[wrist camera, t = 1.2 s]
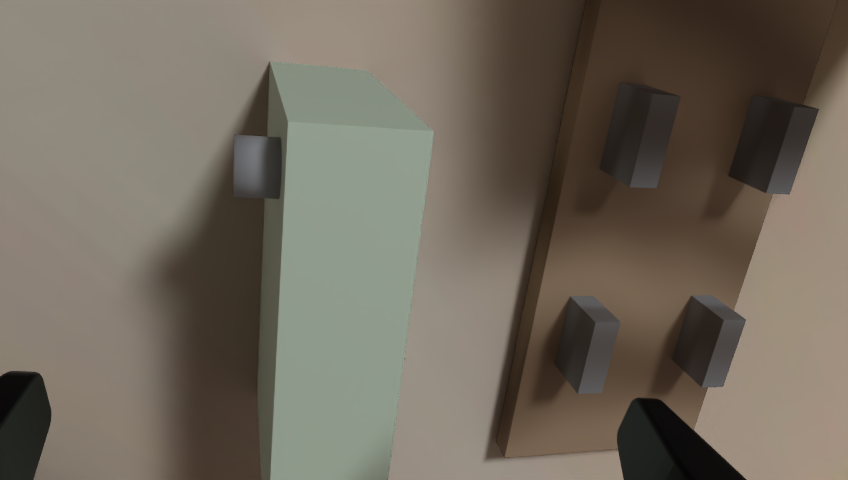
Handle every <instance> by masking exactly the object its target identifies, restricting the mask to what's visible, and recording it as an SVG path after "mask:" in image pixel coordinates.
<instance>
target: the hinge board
mask: <svg viewBox="0 0 848 480" xmlns="http://www.w3.org/2000/svg"><path fill="white" fill-rule="evenodd" d="M837 2H838V0H586V3H585V8H584V13H583V18H582V23H581V28H580V33H579V38H578V43H577V48H576V52H575V57H574V62H573V67H572V72H571V77H570V82H569V87H568V92H567V97H566V102H565V107H564V111H563V116H562V121H561V126H560V131H559V136H558V141H557V146H556V151H555V156H554V161H553V166H552V170H551V175H550V180H549V185H548V190H547V195H546V200H545V205H544V210H543V215H542V220H541V225H540V230H539V234H538V239H537V244H536V249H535V254H534V259H533V264H532V269H531V274H530V279H529V284H528V289H527V293H526V298H525V303H524V308H523V313H522V318H521V323H520V328H519V333H518V338H517V343H516V348H515V352H514V357H513V362H512V367H511V372H510V377H509V382H508V387H507V392H506V397H505V402H504V407H503V411H502V416H501V421H500V426H499V431H498V436H497V441H496V442H497V444H498V446H499V448H500V450H501V452H502V454H503V456H504V458H510V457H522V456H535V455H547V454H560V453H572V452H585V451H597V450H610V449H618V446H617V432H618V429H619V426H620V424H621V422H622V420H623V418H624V416H625V413H626V411H627V409H628V407H629V405H630V403H631V401H632V400H633V399H635V398H638V397H641V398H657V399H660V400H661V401H663V402H664V403H665V404H666V405H667V406H668V407H669V408H670V409H672V410H673V411H674V412H675V413H676V414H677V415H678V416H679V417H680V418H681V419H682V420H683V421H684V422H685V423H686V424H688V425H689V426H690V427H691V428H692V429H693V430H694V427H695V424H696V422H697V419H698V416H699V413H700V410H701V407H702V404H703V401H704V398H705V395H706V392H707V389H708V387H723V385H724V382H725V379H726V376H727V374H728V371H729V368H730V365H731V362H732V359H733V356H734V353H735V350H736V348H737V345H738V342H739V339H740V336H741V333H742V330H743V327H744V324H745V321H746V319H744V318H743V317H742V316H740V315H739V314H737V313H736V312H735V311H734V308H735V305H736V302H737V299H738V296H739V293H740V290H741V288H742V285H743V282H744V279H745V276H746V273H747V270H748V267H749V264H750V261H751V258H752V255H753V252H754V249H755V246H756V243H757V240H758V237H759V234H760V231H761V228H762V225H763V222H764V219H765V216H766V213H767V210H768V207H769V204H770V201H771V198H772V195H773V194H790V191H791V188H792V185H793V183H794V180H795V177H796V174H797V171H798V168H799V165H800V162H801V159H802V157H803V154H804V151H805V148H806V145H807V142H808V139H809V136H810V133H811V130H812V128H813V125H814V122H815V119H816V116H817V113H818V110H819V109H816V108H813V107H809V106H805V105H803V103H804V100H805V97H806V94H807V91H808V88H809V85H810V82H811V79H812V76H813V73H814V70H815V67H816V64H817V61H818V58H819V55H820V52H821V49H822V46H823V43H824V40H825V37H826V34H827V31H828V28H829V25H830V22H831V19H832V17H833V14H834V11H835V8H836V5H837Z"/></svg>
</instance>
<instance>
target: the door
mask: <svg viewBox="0 0 848 480" xmlns="http://www.w3.org/2000/svg"><path fill="white" fill-rule="evenodd" d="M433 137H434V131H433V130H432V129H431V128H430V127H429V126H428V125H427V124H426V123H425V122H423V121H422V120H421V119H420V118H419V117H418V116H417V115H416V114H415V113H414V112H413V111H411V110H410V109H409V108H408V107H407V106H406V105H405V104H404V103H403V102H402V101H401V100H399V99H398V98H397V97H396V96H395V95H394V94H393V93H392V92H391V91H390V90H389V89H387V88H386V87H385V86H384V85H383V84H382V83H381V82H380V81H379V80H378V79H377V78H375V77H374V76H373V75H372V74H371V73H370V72H369V71H368V70H360V69H349V68H338V67H327V66H316V65H305V64H294V63H283V62H272V61H270V71H269V97H268V123H267V137H266V136H250V135H234V184H233V197H239V198H265V202H264V228H263V254H262V280H261V306H260V332H259V358H258V385H257V401H258V422H259V443H260V464H261V480H388V476H389V468H390V461H391V453H392V446H393V438H394V430H395V423H396V415H397V408H398V400H399V393H400V385H401V378H402V370H403V363H404V355H405V348H406V340H407V332H408V325H409V317H410V310H411V302H412V295H413V287H414V280H415V272H416V265H417V257H418V250H419V242H420V235H421V227H422V219H423V212H424V204H425V197H426V189H427V182H428V174H429V167H430V159H431V152H432V144H433Z"/></svg>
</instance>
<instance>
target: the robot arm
mask: <svg viewBox="0 0 848 480" xmlns="http://www.w3.org/2000/svg"><path fill="white" fill-rule="evenodd" d="M50 422H51V407H50V404H49V400H48V396H47V392H46V388H45V385H44V381H43V378H42V376H41V375H40V374H39V373H37V372H26V371H10V372H7V373H5V374H3V375H2V376H0V480H33V479H34V476H35V472H36V469H37V466H38V463H39V459H40V456H41V453H42V450H43V446H44V443H45V440H46V437H47V433H48V430H49V427H50ZM617 446H618V452H619V457H620V462H621V468H622V473H623V478H624V480H746V479H745V478H744V477H743V476H742V475H741V474H740V473H739V472H738V471H737V470H736V469H735V468H734V467H732V466H731V465H730V464H729V463H728V462H727V461H726V460H725V459H724V458H723V457H722V456H721V455H720V454H719V453H718V452H716V451H715V450H714V449H713V448H712V447H711V446H710V445H709V444H708V443H707V442H706V441H705V440H704V439H703V438H701V437H700V436H699V435H698V434H697V433H696V432H695V431H694V430H693V429H692V428H691V427H690V426H689V425H688V424H686V423H685V422H684V421H683V420H682V419H681V418H680V417H679V416H678V415H677V414H676V413H675V412H674V411H673V410H672V409H670V408H669V407H668V406H667V405H666V404H665V403H664V402H663V401H661V400H660V399H657V398H641V397H638V398H635V399H633V400H632V401H631V403H630V405H629V407H628V409H627V411H626V413H625V416H624V418H623V420H622V422H621V424H620V426H619V429H618V432H617Z"/></svg>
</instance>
